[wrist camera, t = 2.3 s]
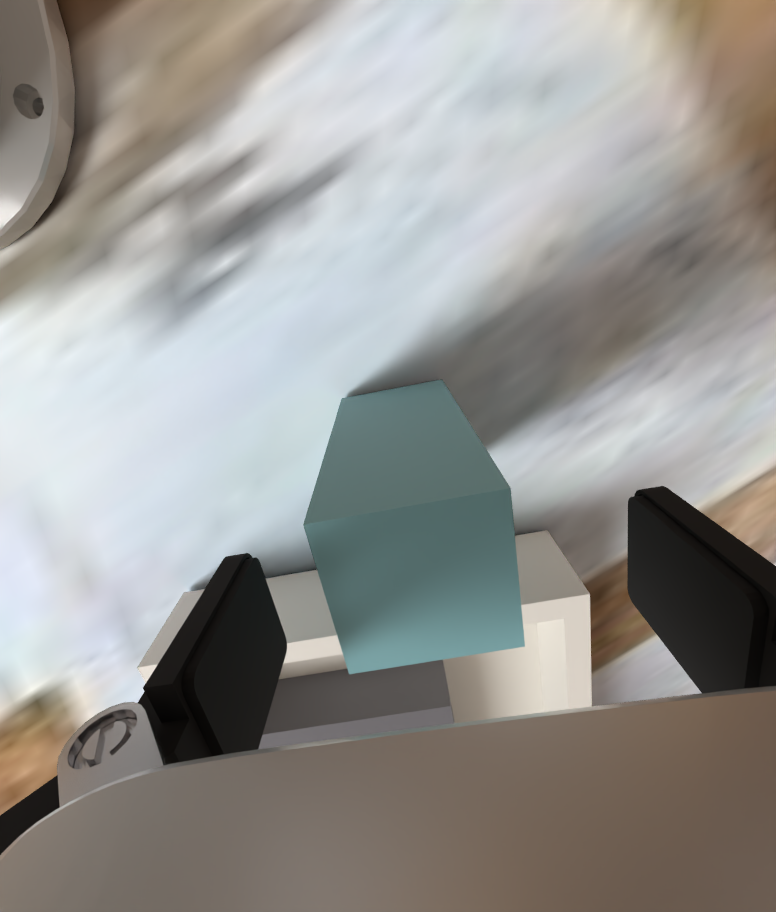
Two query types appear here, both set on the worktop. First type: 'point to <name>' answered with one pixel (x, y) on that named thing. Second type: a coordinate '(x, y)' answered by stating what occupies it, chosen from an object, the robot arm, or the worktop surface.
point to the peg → (413, 533)
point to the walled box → (424, 684)
